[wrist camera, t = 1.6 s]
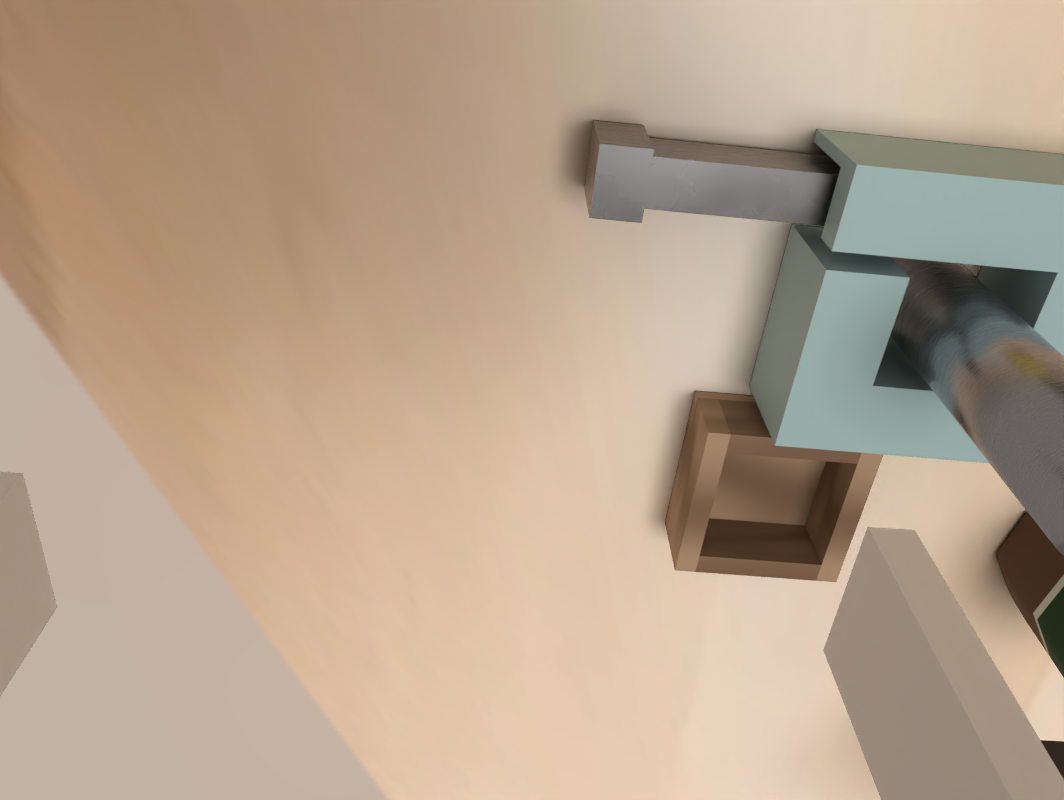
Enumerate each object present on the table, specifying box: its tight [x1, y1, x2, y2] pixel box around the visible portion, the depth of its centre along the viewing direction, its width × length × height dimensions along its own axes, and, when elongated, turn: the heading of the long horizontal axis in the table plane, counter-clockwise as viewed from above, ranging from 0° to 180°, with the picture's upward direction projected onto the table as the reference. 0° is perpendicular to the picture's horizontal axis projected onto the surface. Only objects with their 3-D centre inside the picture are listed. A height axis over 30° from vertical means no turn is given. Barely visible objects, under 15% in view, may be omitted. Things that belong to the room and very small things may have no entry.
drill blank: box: [890, 257, 1064, 555], centre depth 32 cm, size 4×4×16 cm
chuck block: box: [749, 129, 1064, 463], centre depth 37 cm, size 12×12×5 cm
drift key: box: [584, 121, 841, 226], centre depth 34 cm, size 3×10×4 cm, turn 84°
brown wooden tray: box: [665, 391, 883, 582], centre depth 42 cm, size 8×8×4 cm
